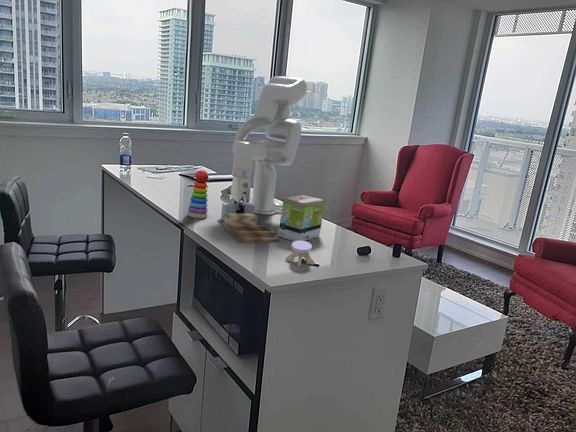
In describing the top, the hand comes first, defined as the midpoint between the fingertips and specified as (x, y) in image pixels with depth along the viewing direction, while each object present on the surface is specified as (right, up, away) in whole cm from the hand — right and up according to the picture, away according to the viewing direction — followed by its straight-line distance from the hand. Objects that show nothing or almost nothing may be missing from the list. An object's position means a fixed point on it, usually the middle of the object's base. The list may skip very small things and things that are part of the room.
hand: (237, 217), depth 190 cm
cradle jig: (+7, -6, -20) cm, 22 cm away
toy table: (+24, -14, -43) cm, 51 cm away
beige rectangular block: (+2, -4, -9) cm, 10 cm away
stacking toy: (-16, 0, -2) cm, 16 cm away
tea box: (+25, -7, -13) cm, 29 cm away
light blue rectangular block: (0, -1, 0) cm, 1 cm away
